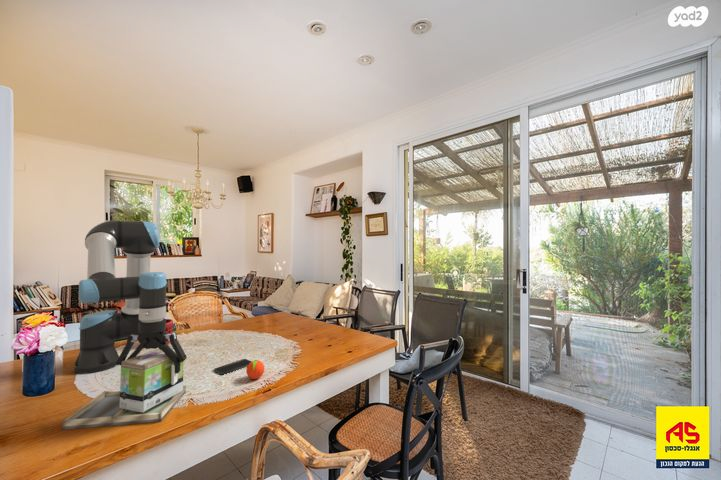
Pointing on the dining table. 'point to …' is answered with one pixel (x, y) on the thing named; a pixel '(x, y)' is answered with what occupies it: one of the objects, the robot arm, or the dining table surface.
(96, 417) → the organiser
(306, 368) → the dining table surface
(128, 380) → the tea box
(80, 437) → the dining table surface
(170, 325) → the plant pot
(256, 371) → the clementine
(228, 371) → the phone
